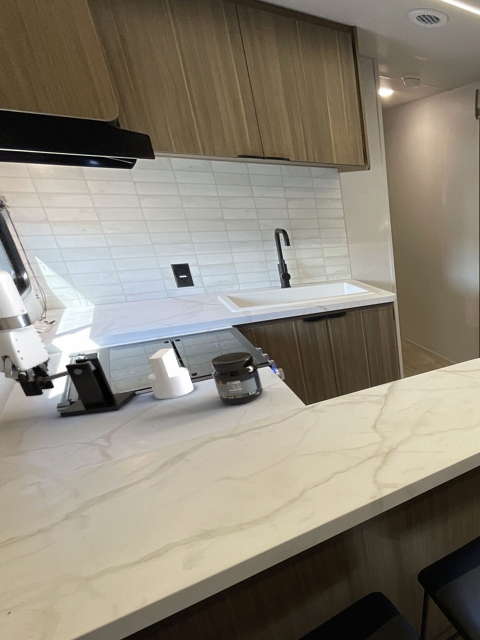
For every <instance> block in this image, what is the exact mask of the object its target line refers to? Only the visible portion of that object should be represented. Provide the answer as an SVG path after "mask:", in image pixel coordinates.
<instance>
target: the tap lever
mask: <svg viewBox="0 0 480 640" xmlns="http://www.w3.org/2000/svg"><path fill="white" fill-rule="evenodd" d="M88 362H89V364H90V366H91V369H92V371H93V370H95V369H96V368H95V367H94V365H93V364H92V363H91V362H90V361H87V362H84V363H88ZM66 376H70V375H69V373H68V371H67V370H64V371H61V372H58V373H53V374H51V375H49V376H47V377H42V376H38V375H35V376H33V377H34V380H37V381H38V383H39V385H40V387H41V388H42V387H44V386H45V385H46V381H50V380H51V381H53V380H56V379H59V378H64V377H66Z"/></svg>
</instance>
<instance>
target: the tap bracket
mask: <svg viewBox="0 0 480 640" xmlns="http://www.w3.org/2000/svg"><path fill="white" fill-rule="evenodd" d="M87 361H90V362H91V363H92V364H93V365H94V367H95V368H96V369H95V370H93V371H92V369H91V366H90V364H89V362H88V363H84V362H87ZM74 362H75V363H68V364H66V365H65V368H66V371H68V373H69V375H68V376H69V378H70V379H71V381H72V384H73V386H74V388H75V391H76V393H77V395H78V398H79V399H78V400H76V401H75V402H73V403H72V404H71V405H69V406H68V407H66V408H64V409H63V410H62V411H60V412H59V415H60V417H61V418H65V417H73V416H74V417H75V416H81V415H89V414H98V413H105V412H106V413H107V412H115V411H119V410H120V409H122V408H123V407H124V406H125V405H126V404H128V403H129V402H130V401H131V400H132V399H133V398H135V397H136V396H137V393H136V391H135V390H133V391H125V392H117V393H114V392H113V390H112V388H111V386H110V384H109V381H108V379H107V376H106V374H105V371H104V369H103V367H102V364H101V362H100V359H99V357H98V356H97V357H86V358H77V359H75V360H74Z"/></svg>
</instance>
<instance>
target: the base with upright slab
mask: <svg viewBox="0 0 480 640" xmlns="http://www.w3.org/2000/svg"><path fill="white" fill-rule="evenodd" d="M148 361H149V364H150V366H151V369H152V373H150V374H149V375H147V379H148V382H149V384H150V387H151V390H152V392H153V395H154V397H155V398H156V399H159V400H166V399H174V398H178V397H181V396H185V395H187V394H189V393H191V392H192V391H193V390H194V385H193V382H192V379H191V377H190V373H189V370H188V368H187V367H182V366H181V367H180V366H179V364H178V361H177V357H176V354H175V352H174V348H173V347H169V348H160V349H159V350H157V351H156V352H155V353H153V354H152V355H151V356H150V357H148Z"/></svg>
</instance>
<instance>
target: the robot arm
mask: <svg viewBox="0 0 480 640" xmlns="http://www.w3.org/2000/svg"><path fill="white" fill-rule="evenodd" d="M36 329H37V328H35V327H34V324H33V322H32V319H31V317H30V314H29V312H28V311H27V308H26V306H25V303H24V302H23V299H22V297H21V294H20V292H19V290H18V288H17V286H16V284H15V282H14V278H13V277H12V275H11V274H10V273H9V272H7V271H6V270H3V269H0V373H2V374H4V377H5V378H6V379H11V380H13V381H15V382H16V383H17V384H19V386H20V388H21V389H22V391H23V393H24V395H25V397H37V396H42V395H44V392H43V390H44V391H45V390H52V389H54V388H55V386H54V385H55V384H54V383H53V380H50V381H46V385H45V386H44V387H42V388H41V387H40V385H39V383H38V381H37V380H34V377H33V376H35V375H38V376H42V377H47V376H50V375H49V373H50V370H49V368H48V366H49V362H50V360H51V358H50V355H49V352H48V349H47V347H46V344H45V343H44V341H43V339H42V337H41V336H40V334H39V332H38V331H37V330H36ZM24 373H25V374H24Z"/></svg>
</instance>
